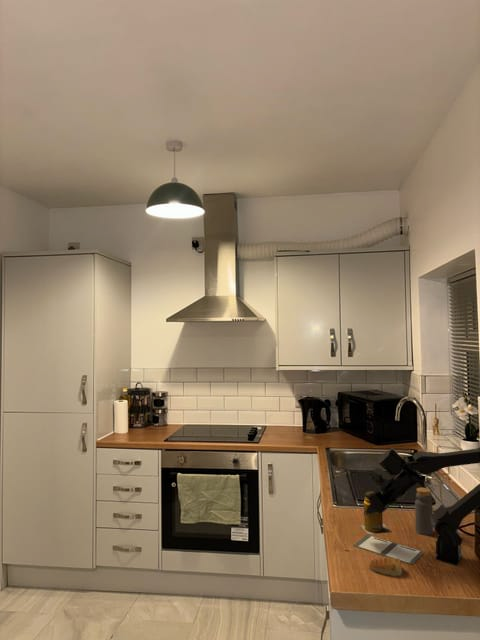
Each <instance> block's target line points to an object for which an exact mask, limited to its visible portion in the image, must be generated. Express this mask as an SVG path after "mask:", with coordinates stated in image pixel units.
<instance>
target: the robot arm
mask: <svg viewBox="0 0 480 640" xmlns="http://www.w3.org/2000/svg"><path fill="white" fill-rule="evenodd" d="M377 460H378V461H377V464H378V465H379V466H380V467H381V468H383V469H384V470H383V469H381V468H380V467H376V468H374V469H373V471H372V473H370V474H369V476H370V480H371V481H373V483H375V484H377V485H379V486H380V487H379V488H380V489H379V490H381V491H379V490H374V491H372V492H373V493H371V494H370V495H369V496H368V499H369V500H370V501H371V504H370V505H369V507H368V508H367V510H366V512H367V513H368V514H369V513H375V512H379V513H382V514H383V513H384V512H385V511H387V510H388V509H389V508H390V505H393V504H396V503H397V502H399V501H401V500H402V499H403V498H404V497H406V494H407V493H409V492H410V491H411V490H412V489H413V488H414V487H415V486H417V485H418V484H419V485H420V486H421V488H426V477H427V475H429V474H433V473H435V472H438V471H441V469H445V468H449V467H458V466H465V465H467V466H468V465H474V464H480V447H478V448H471V449H465V450H455V451H448V452H442V453H441V452H433V451H417V452H415V453H414V454H413V455H407V456H401V455H400V454H399V453H398V452H397V451H396V450H395V449H394V448H393V447H391V448H390V449H387V451H385V452H383V453H382V454H381V455H380V456H379V458H378V459H377ZM387 472H388V473H387ZM479 507H480V483H479V484H477V485H476V486H474V487H473V488H472V489H471V490H470V491H468V492H467V493H466V494H464V496H463V497H461V498H460V499H459V500H457V501H456V502H455V503H454V504H452V505H451V506H446V507H445V505H444V504H441V505H440V506H439V507H438V508H437V509H435V510H433V515H432V516H431V524H432V526H433V530H434V531H435V532H436V534H437V535H438V537H437V540H436V541H435V554H436V556H435V559H436V560H439V561H442V562H444V563H445V562H446V563H448V564H452V565H455V566H458V565H459V564H460V563H461V562H462V560H463V559H464V556H463V555H462V543H463V538H462V536H461V535H460V533H459V531H458V529H459V528H460V526H461V524H462V521H463V520H464V519H465V518H466V517H467V516H469V515H470V514H471V513H472V512H474V511H475V510H476V509H477V508H479Z"/></svg>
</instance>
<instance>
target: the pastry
mask: <svg viewBox="0 0 480 640" xmlns="http://www.w3.org/2000/svg"><path fill="white" fill-rule="evenodd" d="M368 566H369V568H370V569H371V570H372V571H373V572H375V573H379V574H382V575H387V576H393V577H401V576H402V574H403V570H402V564H401V561H400V559H399V558H396V559H395V558H391V557H390V558H389V557H386V556H384V557H381V558H376V559H372V560H370V562H369V565H368Z"/></svg>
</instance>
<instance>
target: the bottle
mask: <svg viewBox="0 0 480 640" xmlns="http://www.w3.org/2000/svg"><path fill="white" fill-rule="evenodd" d="M415 497H416V498H417V499H415V501H414V512H415V513H414V515H415V516H414V518H415V519H414V522H415V523H414V525H415V531H416V533H418V534H419V535H422V536H423V535H424V536H430V535H433V533H434V532H433V531H434V528H433V526H432V524H431V516H432V515H433V511H434V509H433V502H432V501H431V499H432V495H431V489H430V488H427V487H424V488H423V487H417V488H416V494H415Z"/></svg>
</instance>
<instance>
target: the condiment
mask: <svg viewBox="0 0 480 640" xmlns="http://www.w3.org/2000/svg"><path fill="white" fill-rule="evenodd" d="M373 492H374V491H366V492H365V493H364V501H363V516H364V517H363V521H364V522H363V523H364V524H360V526H361V528H362V529H363V530H364V531H365V532H366V533H367V534H368V535H378V534H389V533H393V531H392V530H391V529H390V528H389V527H388V526H387V525H386V524H385V523H383V522H384V520H383V512H382V513H379V512H375V513H369V514H368V513H367V512H366V510H367V508H368V507H369V505H370V504H371V501H370V500H369V499H368V496H369V495H370V494H371V493H373Z"/></svg>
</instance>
